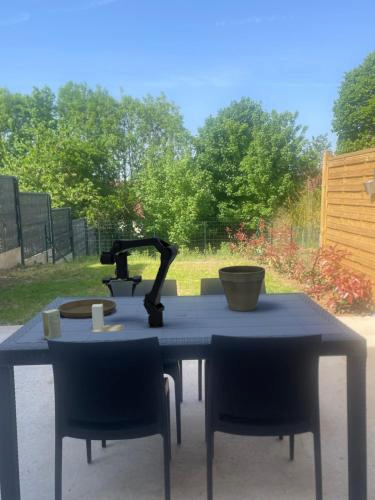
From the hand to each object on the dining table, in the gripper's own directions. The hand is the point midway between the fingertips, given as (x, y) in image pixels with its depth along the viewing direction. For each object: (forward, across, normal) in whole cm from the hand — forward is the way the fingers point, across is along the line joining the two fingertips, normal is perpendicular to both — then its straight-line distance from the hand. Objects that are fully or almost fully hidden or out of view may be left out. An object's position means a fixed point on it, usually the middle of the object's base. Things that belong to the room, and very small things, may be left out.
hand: (123, 297), depth 208 cm
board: (+13, +6, +10) cm, 17 cm away
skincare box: (+13, +29, +20) cm, 38 cm away
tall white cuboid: (+12, +11, +8) cm, 18 cm away
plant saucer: (+14, +23, -24) cm, 36 cm away
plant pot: (+13, -61, -22) cm, 66 cm away
